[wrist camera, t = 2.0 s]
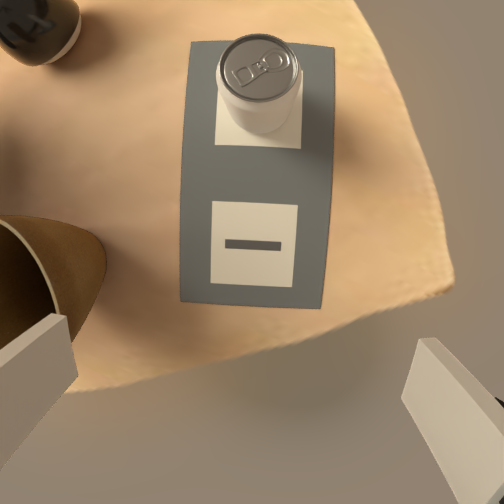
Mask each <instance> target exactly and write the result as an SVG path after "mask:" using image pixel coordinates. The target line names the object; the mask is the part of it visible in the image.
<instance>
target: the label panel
mask: <svg viewBox="0 0 504 504" xmlns="http://www.w3.org/2000/svg"><path fill="white" fill-rule="evenodd" d="M232 42H233V41H198V42H191V48H190V57H189V67H188V77H187V88H186V100H185V114H184V129H183V146H182V167H181V196H180V299H181V302H193V303H207V304H221V305H238V306H257V307H278V308H306V309H320V307H321V299H322V290H323V281H324V272H325V262H326V252H327V240H328V228H329V215H330V201H331V185H332V165H333V140H334V48H333V47H325V46H317V45H308V44H298V43H287V44H288V45H289V46H290V47H291V48H292V50H293V51H294V53H295V55H296V57H297V59H298V61H299V64H300V67H301V72H302V79H301V85H300V88H299V91H298V94H297V96H296V99H295V101H294V104H293V106H292V108H291V111H290V113H289V115H288V117H287V119H286V120H285V122H284V123H283V124H282V125H281V126H280V127H278V128H277V129H275V130H273V131H271V132H267V133H252V132H248V131H246V130H244V129H242V128H241V127H239V126H238V125H237V124H236V123H235V122H234V120H233V119H232V117H231V115H230V113H229V111H228V109H227V107H226V105H225V102H224V100H223V98H222V96H221V93H220V91H219V88H218V85H217V81H216V70H217V65H218V63H219V60H220V58H221V55H222V53H223V52H224V50H225V49H226V48H227V46H228V45H229V44H231V43H232ZM285 43H286V42H285Z"/></svg>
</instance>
